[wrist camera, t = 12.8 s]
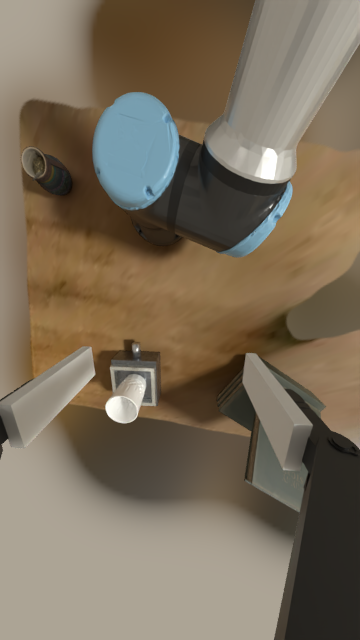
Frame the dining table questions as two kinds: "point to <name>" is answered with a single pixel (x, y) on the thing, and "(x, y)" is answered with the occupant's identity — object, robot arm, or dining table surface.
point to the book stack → (267, 440)
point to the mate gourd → (46, 171)
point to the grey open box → (138, 371)
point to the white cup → (126, 399)
